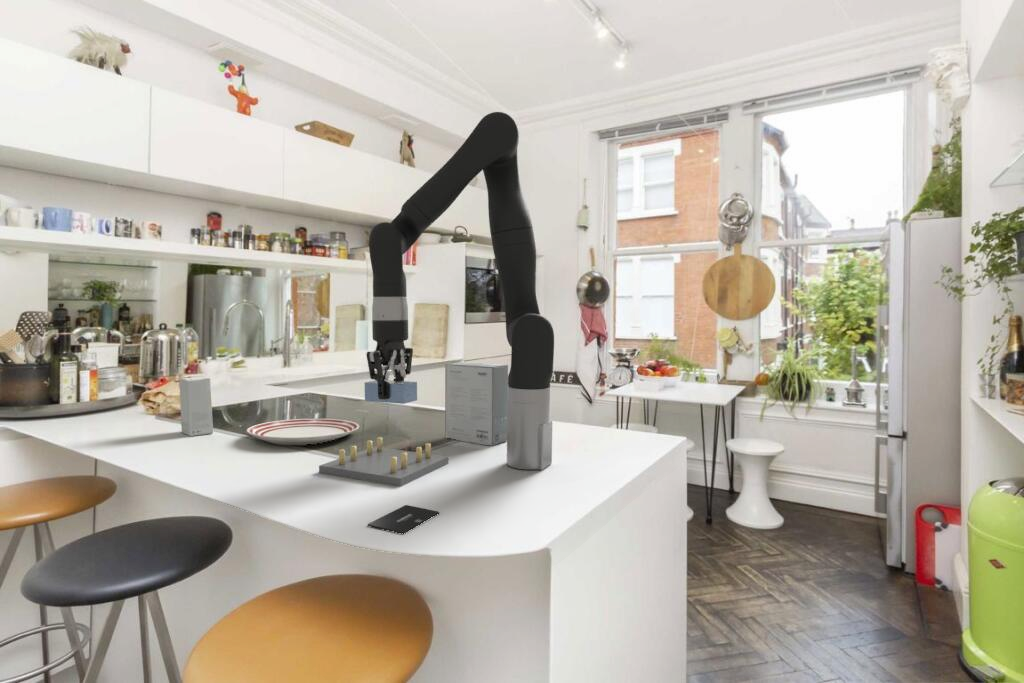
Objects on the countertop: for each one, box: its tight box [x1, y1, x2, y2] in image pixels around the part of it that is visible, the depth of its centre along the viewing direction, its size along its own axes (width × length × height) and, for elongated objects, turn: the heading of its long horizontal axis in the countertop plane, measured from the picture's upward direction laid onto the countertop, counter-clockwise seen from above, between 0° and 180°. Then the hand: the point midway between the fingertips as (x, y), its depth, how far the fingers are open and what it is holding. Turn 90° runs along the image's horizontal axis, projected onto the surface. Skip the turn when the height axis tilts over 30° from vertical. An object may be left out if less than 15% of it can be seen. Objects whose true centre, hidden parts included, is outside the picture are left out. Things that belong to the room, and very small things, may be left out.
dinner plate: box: [246, 418, 360, 446], centre depth 145 cm, size 28×27×3 cm
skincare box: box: [178, 376, 214, 437], centre depth 148 cm, size 8×6×15 cm
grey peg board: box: [318, 437, 449, 487], centre depth 118 cm, size 20×18×4 cm
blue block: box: [364, 379, 418, 405], centre depth 120 cm, size 10×5×4 cm, turn 67°
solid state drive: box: [367, 504, 440, 535], centre depth 89 cm, size 7×10×1 cm
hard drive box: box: [444, 362, 509, 446], centre depth 145 cm, size 16×8×20 cm, turn 58°
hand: (391, 396), depth 120 cm, fingers closed on blue block, 5 cm apart
